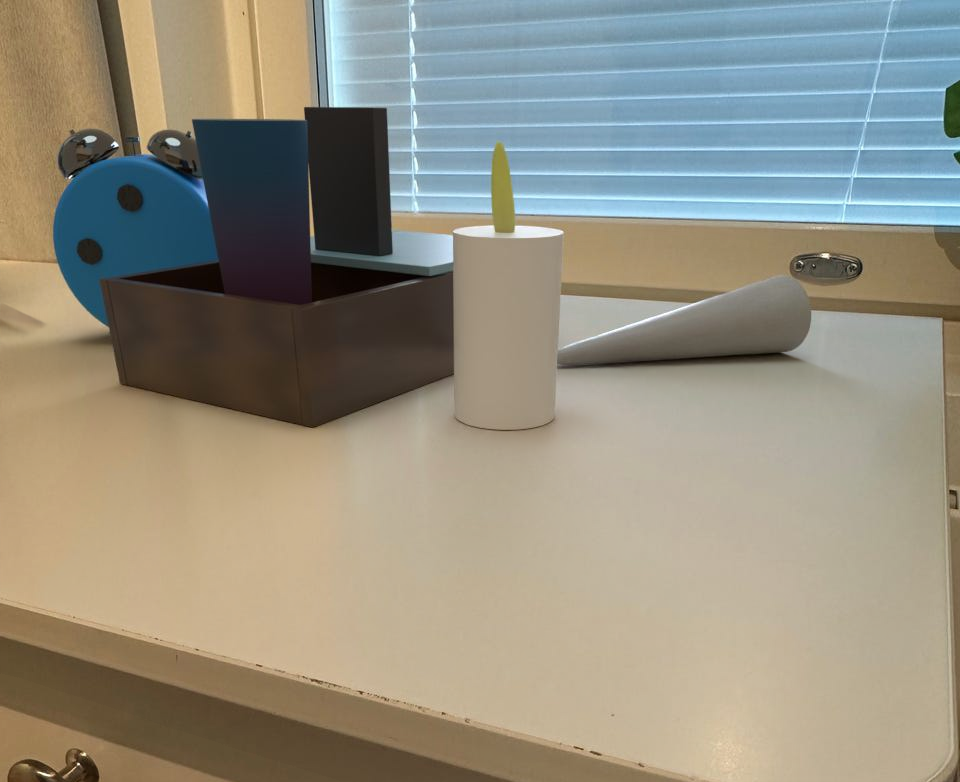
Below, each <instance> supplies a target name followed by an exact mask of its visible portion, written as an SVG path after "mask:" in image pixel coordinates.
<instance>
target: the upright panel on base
mask: <svg viewBox="0 0 960 782" xmlns="http://www.w3.org/2000/svg"><path fill="white" fill-rule="evenodd" d="M303 114H304V120H307V130H308V169H309V190H310V201H311V212H312V226H313V235H312V236H311V235H310V246H311V263H318V264H327V265H336V266H344V267H353V268H362V269H370V270H379V271H388V272H397V273H405V274H414V275H423V276H433V275H438V274H442V273H446V272H451V271H453V234H443V233H434V232H433V233H431V232H422V231H421V232H419V231H408V230H400V229H399V230H397V229H393V225H392V221H393V220H392V200H391V197H392V196H391V176H390V175H391V173H390V171H391V170H390V150H389V149H390V147H389V145H390V144H389V125H388V123H389V122H388V121H389V119H388V108H387V107H370V106H369V107H367V106H366V107H359V106H357V107H355V106H354V107H353V106H352V107H351V106H350V107H349V106H348V107H347V106H345V107H344V106H304V107H303Z"/></svg>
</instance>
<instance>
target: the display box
mask: <svg viewBox="0 0 960 782" xmlns="http://www.w3.org/2000/svg"><path fill="white" fill-rule="evenodd" d="M99 281H100V286H101V291H102V296H103V301H104V306H105V311H106V316H107V321H108V326H109V327H108V331H109V335H110V341H111V345H112V350H113V355H114V361H115V366H116V370H117V376H118V380H119V384H120V385H123V386H128V387H129V386H130V387H134V388H139V389H143V390H147V391H151V392H156V393H162V394H165V395H168V396H174V397H178V398H182V399H186V400H191V401H195V402H201V403H204V404H210V405H212V406H213V405H214V406H217V407H222V408H227V409H230V410H236V411H239V412H244V413H250V414H254V415H258V416H261V417H267V418H271V419H276V420H278V421H279V420H280V421H285V422H287V423H292V424H298V425H302V426H306V427H310V428H314V427H317V426H320V425H323V424H325V423H328V422H330V421H333V420H336V419H338V418H341V417H344V416H347V415H349V414H352V413H354V412H357V411H359V410H362V409H365V408H367V407H370V406H373V405H375V404H378V403H380V402H383V401H386V400H388V399H391V398H394V397H397V396H399V395H401V394H404V393H407V392H409V391H413V390H415V389H418V388H420V387H423V386H426V385H428V384H430V383H434V382H435V381H436V382H437V381H439V380H441V379H444V378H447V377H449V376H452V375H454V309H453V271H451V272H446V273H442V274H438V275H433V276H423V275H414V274H405V273H397V272H388V271H379V270H370V269H362V268H353V267H344V266H336V265H327V264H318V263H311V284H312V303H308V304H303V305H297V304H290V303H283V302H276V301H269V300H262V299H255V298H248V297H241V296H234V295H227V294H225V292H224V286H223V281H222V276H221V271H220V265H219V260H215V261H209V262H203V263H196V264H190V265H184V266H177V267H171V268H164V269H158V270H152V271H145V272H139V273H133V274H126V275H120V276H114V277H107V278H101V279H99Z"/></svg>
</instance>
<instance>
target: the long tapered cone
mask: <svg viewBox="0 0 960 782" xmlns="http://www.w3.org/2000/svg"><path fill="white" fill-rule="evenodd" d="M811 325H812V306H811V301H810V298H809V295H808V293H807V291H806V288H804V286H803V285H802V283H800V281H799V280H797V279H796V278H794V277H792V276H789V275H786V274H785V275H784V274H779V275H775V276H773V277H769V278H766V279H763V280H759V281H756V282H754V283H750V284H747V285H745V286H742V287H739V288H736V289H734V290H731V291H728V292H725V293H722V294H718V295H714V296H712V297H709V298H706V299H703V300H700V301H697V302H694V303H692V304H688V305H685V306H682V307H679V308H677V309H676V308H675V309H673V310H671V311H668V312H664V313H661V314H658V315H655V316H651V317H649V318H646V319H643V320H641V321H637V322H635V323H631V324H628V325H625V326H622V327H619V328H615V329H613V330H609V331H607V332H604V333H601V334H599V335H595V336H592V337H588V338H586V339H582V340H580V341H576V342H573V343H571V344H568V345H566V346H563V347H561V348H558V357H557V366H558V365H559V366H585V365H602V364H616V363H617V364H618V363H633V362H648V361H664V360H665V361H666V360H675V359H676V360H677V359H679V360H681V359H693V358H694V359H696V358H711V357H712V358H713V357H726V356H727V357H728V356H737V355H738V356H741V355H762V354H776V353H777V354H778V353H788V352H792V351H794V350H796V349H797V348H799V347H800V346H801V345H802V344H803V343H804V341H805V339H806V338H807V336H808V334H809V331H810V328H811Z"/></svg>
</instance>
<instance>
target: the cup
mask: <svg viewBox="0 0 960 782" xmlns="http://www.w3.org/2000/svg"><path fill="white" fill-rule="evenodd" d="M191 123H192V128H193V134H194V139H196V145H197V150H198V155H199V160H200V166H201V171H202V176H203V181H204V187H205V192H206V197H207V202H208V208H209V213H210V218H211V223H212V229H213V234H214V239H215V244H216V250H217V255H218V260H219V265H220V271H221V276H222V281H223V286H224V292H225V294H227V295H234V296H241V297H248V298H255V299H262V300H269V301H276V302H283V303H290V304H297V305H303V304H308V303H312V284H311V246H310V237H311V214H310V213H311V212H310V211H311V210H310V209H311V208H310V177H309V165H308V130H307V120H305V119H294V118H293V119H290V118H289V119H288V118H287V119H286V118H284V119H283V118H192V119H191Z"/></svg>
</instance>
